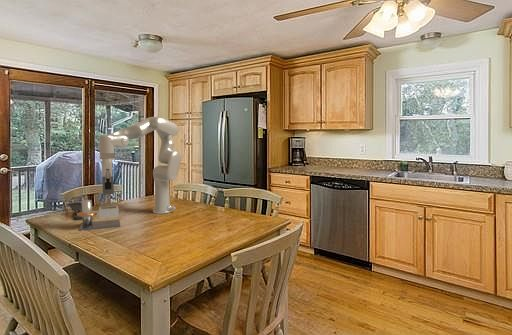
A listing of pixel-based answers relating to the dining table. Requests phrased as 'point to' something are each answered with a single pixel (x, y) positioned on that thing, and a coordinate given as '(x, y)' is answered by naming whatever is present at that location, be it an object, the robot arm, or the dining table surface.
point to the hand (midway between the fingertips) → (108, 188)
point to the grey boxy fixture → (103, 213)
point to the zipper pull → (76, 209)
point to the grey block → (107, 191)
